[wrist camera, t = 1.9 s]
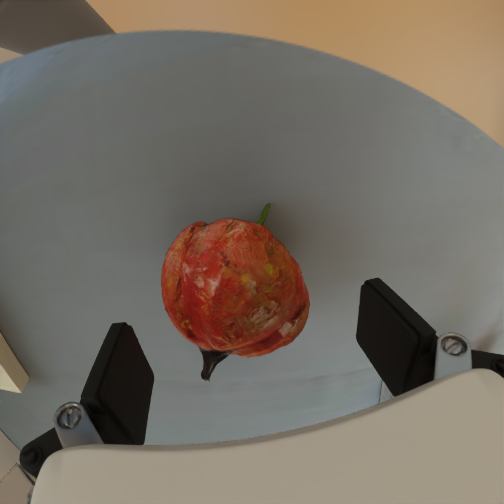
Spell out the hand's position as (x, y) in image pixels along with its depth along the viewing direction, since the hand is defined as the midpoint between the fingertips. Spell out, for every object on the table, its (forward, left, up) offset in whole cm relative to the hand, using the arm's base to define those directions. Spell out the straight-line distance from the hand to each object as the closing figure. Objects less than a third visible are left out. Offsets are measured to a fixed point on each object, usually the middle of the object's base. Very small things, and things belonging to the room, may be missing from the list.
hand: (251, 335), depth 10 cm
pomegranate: (0, 0, -7) cm, 7 cm away
